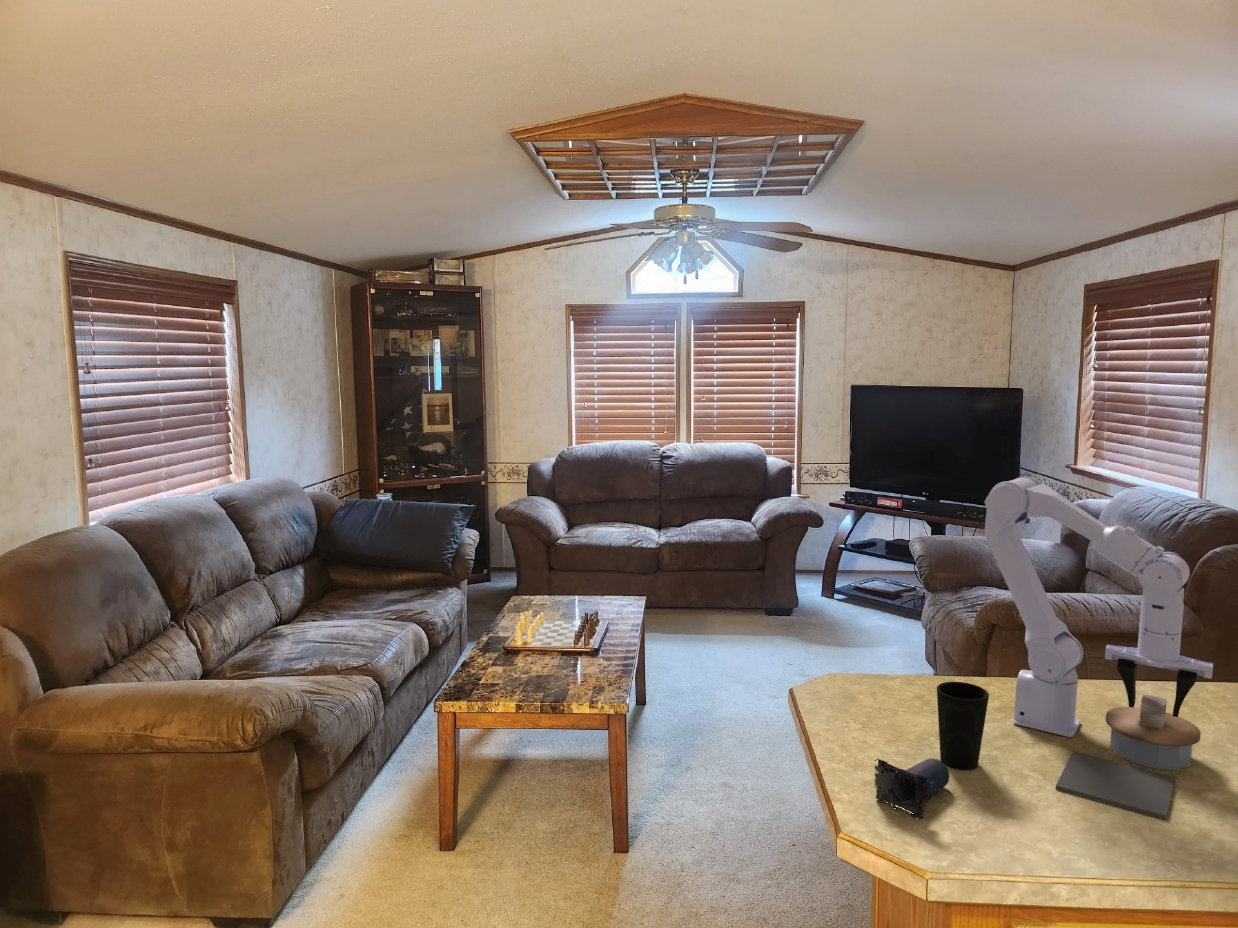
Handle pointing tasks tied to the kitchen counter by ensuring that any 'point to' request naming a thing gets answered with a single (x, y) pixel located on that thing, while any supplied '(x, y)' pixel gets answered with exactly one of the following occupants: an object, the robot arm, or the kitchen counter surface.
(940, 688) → the cup
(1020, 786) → the kitchen counter surface
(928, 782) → the dark blue flanged cylinder
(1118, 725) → the lid
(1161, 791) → the mat
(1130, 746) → the bowl
